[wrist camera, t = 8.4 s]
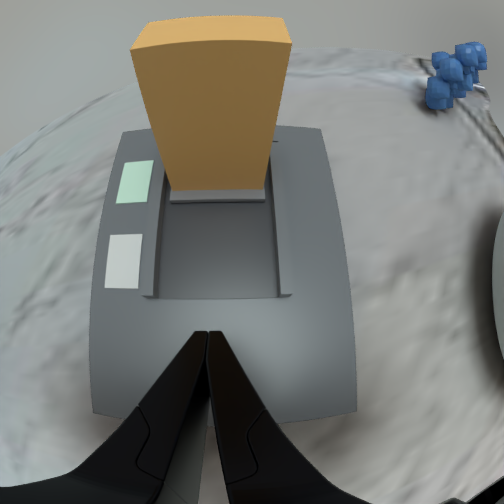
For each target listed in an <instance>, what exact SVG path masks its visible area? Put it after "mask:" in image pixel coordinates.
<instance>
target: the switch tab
mask: <svg viewBox="0 0 504 504" xmlns="http://www.w3.org/2000/svg"><path fill="white" fill-rule="evenodd" d="M291 46H292V42H291V39H290V36H289V34H288V31H287V28H286V26H285V24H284V21H283V18H275V17H261V16H201V17H188V18H178V19H170V20H162V21H156V22H150V23H148V24H147V25H146V26H145V28H144V29H143V31H142V32H141V34H140V35H139V36H138V38H137V39H136V41H135V43H134V44H133V46H132V47H131V49H130V52H131V56H132V60H133V64H134V68H135V72H136V76H137V79H138V83H139V87H140V90H141V94H142V97H143V101H144V104H145V108H146V111H147V114H148V118H149V121H150V124H151V128H152V131H153V134H154V137H155V140H156V144H157V147H158V150H159V153H160V156H161V159H162V162H163V165H164V168H165V171H166V174H167V177H168V180H169V183H170V186H171V193H170V203H189V202H265V188H264V181H265V176H266V171H267V166H268V161H269V156H270V151H271V146H272V141H273V136H274V131H275V126H276V121H277V116H278V111H279V106H280V101H281V96H282V91H283V86H284V81H285V76H286V71H287V66H288V61H289V56H290V51H291Z"/></svg>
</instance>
